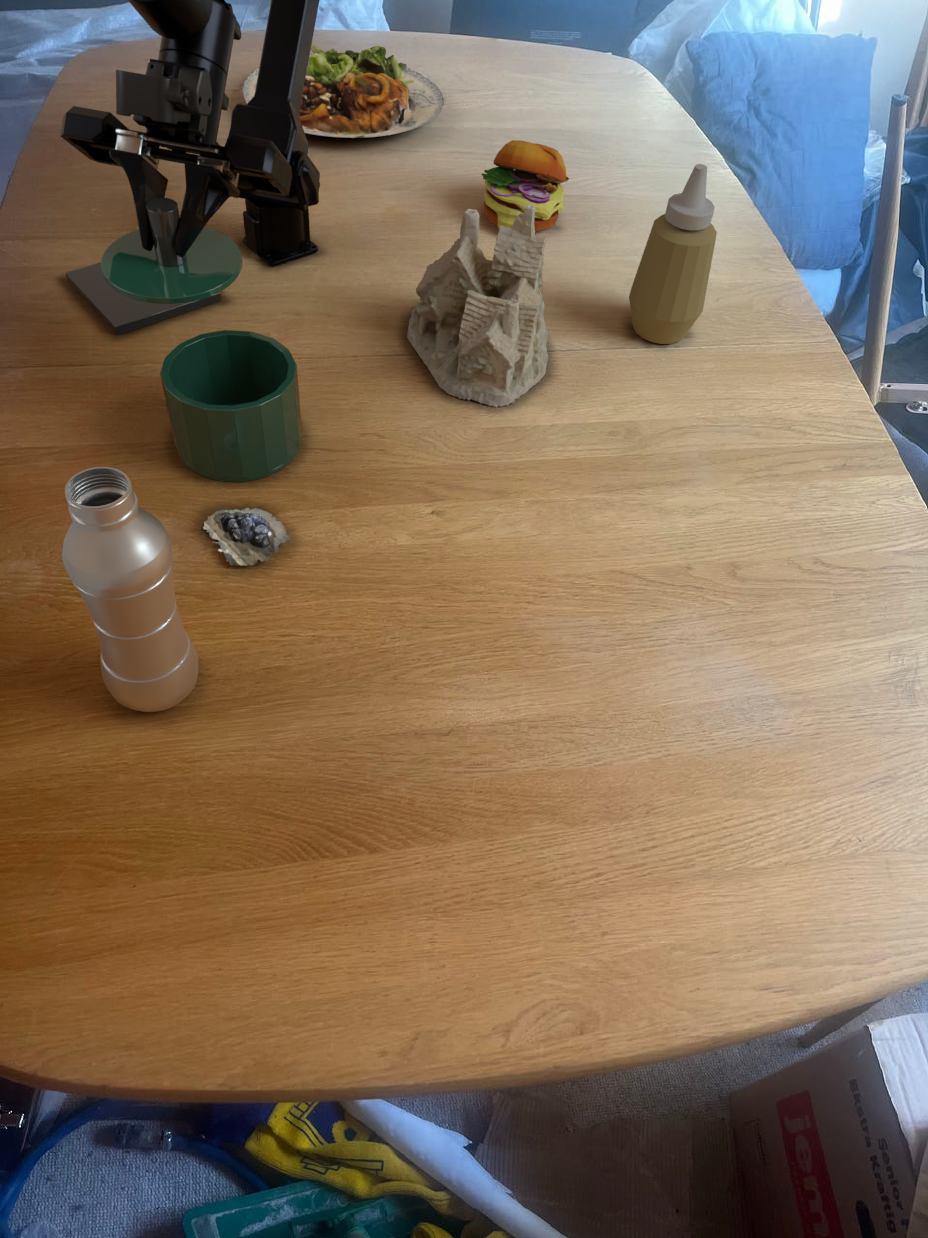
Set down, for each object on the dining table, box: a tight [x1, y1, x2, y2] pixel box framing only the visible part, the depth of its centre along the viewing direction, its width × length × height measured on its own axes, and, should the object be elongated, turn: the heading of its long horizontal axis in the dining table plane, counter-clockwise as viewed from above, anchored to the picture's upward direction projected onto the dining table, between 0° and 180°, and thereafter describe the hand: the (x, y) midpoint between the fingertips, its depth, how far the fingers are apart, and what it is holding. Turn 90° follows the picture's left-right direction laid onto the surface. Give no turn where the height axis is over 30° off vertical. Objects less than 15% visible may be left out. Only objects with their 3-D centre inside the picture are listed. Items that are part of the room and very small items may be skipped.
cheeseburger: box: [481, 139, 570, 232], centre depth 117 cm, size 10×11×10 cm
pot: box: [159, 329, 303, 483], centre depth 86 cm, size 11×11×8 cm
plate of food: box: [241, 43, 445, 139], centre depth 133 cm, size 28×28×6 cm
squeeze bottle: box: [628, 163, 718, 345], centre depth 99 cm, size 8×8×18 cm
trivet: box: [64, 261, 222, 336], centre depth 103 cm, size 12×12×1 cm
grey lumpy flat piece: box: [202, 507, 292, 567], centre depth 81 cm, size 7×8×2 cm
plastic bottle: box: [61, 466, 199, 713], centre depth 63 cm, size 6×7×20 cm
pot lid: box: [100, 197, 243, 304], centre depth 84 cm, size 12×12×6 cm
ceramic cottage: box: [406, 204, 549, 408], centre depth 95 cm, size 16×16×15 cm
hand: (162, 252), depth 84 cm, fingers closed on pot lid, 3 cm apart
